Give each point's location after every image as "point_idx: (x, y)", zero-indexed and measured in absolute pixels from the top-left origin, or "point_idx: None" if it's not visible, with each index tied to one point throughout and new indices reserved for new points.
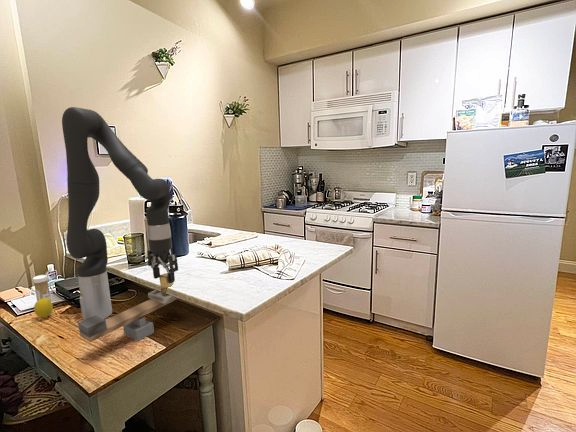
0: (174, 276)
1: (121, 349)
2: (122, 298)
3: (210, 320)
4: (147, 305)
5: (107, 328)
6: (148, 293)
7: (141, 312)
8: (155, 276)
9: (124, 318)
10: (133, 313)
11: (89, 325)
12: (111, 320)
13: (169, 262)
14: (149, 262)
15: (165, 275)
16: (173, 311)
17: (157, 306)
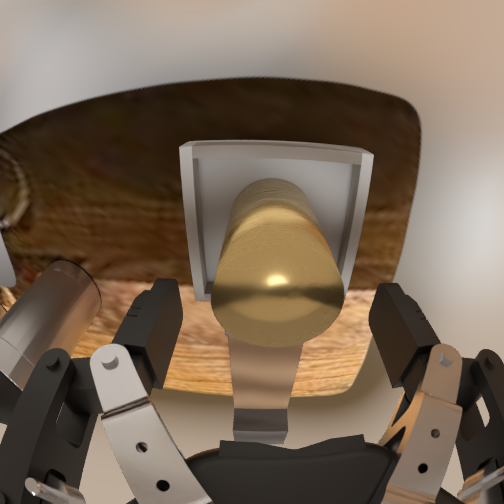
0: (427, 320)
1: None
2: (13, 200)
3: (420, 125)
4: None
5: (285, 408)
6: (200, 300)
7: (300, 353)
8: (177, 324)
9: (280, 383)
10: (278, 365)
11: (274, 441)
12: (253, 396)
13: (467, 472)
14: (87, 429)
15: (275, 306)
16: (230, 135)
17: None
